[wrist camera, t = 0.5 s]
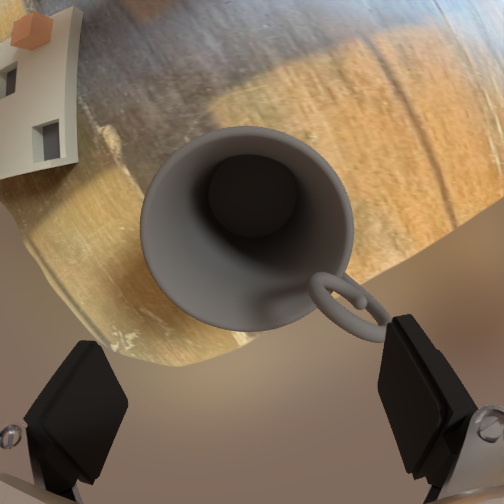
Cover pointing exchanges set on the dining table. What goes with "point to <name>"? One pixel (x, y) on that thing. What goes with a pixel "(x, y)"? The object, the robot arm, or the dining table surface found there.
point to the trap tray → (40, 100)
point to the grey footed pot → (254, 234)
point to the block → (32, 31)
